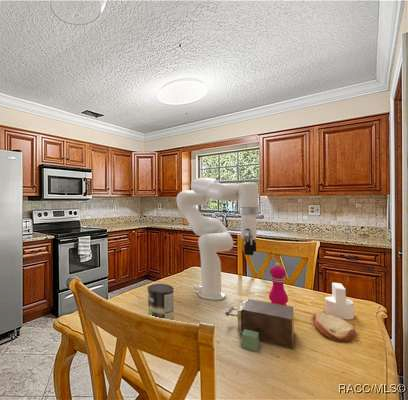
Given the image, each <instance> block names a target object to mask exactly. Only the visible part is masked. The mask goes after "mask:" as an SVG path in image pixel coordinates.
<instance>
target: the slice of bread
mask: <svg viewBox="0 0 408 400" xmlns="http://www.w3.org/2000/svg"><path fill="white" fill-rule="evenodd" d="M313 324H314V327H315V328H316V329H317V330H318V331H319V332H320V333H321V334H322V335H324V336H325V337H327V338H329V339H330V340H333V341H335V342H338V343H339V342H340V343H349V342H350V341H351V340H354V339H356V337H357V333H356V329H355V327H354V325H353V324H351V323H350V322H348V321H346V320H345V319H341V318H338V317H336V316H334V315H331V314H327V313H326V312H324V311H318V310H316V311H315V312H314V314H313Z"/></svg>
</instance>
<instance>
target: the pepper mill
mask: <svg viewBox="0 0 408 400" xmlns="http://www.w3.org/2000/svg"><path fill="white" fill-rule="evenodd" d="M274 265H275V266H271V267H270V269H269V274H270V275H271V277H270V278H271V281H272V287H271V289H270V292H269V294H268V299H269V300H270V303H275V304H281V305H286V306H288V305H287V303H288V302H289V297H288V294H287V291H286V289H285V287H284V286H285V285H284V282H285V277H286V275H287V272H286V270H285V268H284V267H282V266H281V264H280V263H279V262H276V263H275V264H274Z"/></svg>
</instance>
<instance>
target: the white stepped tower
mask: <svg viewBox="0 0 408 400" xmlns="http://www.w3.org/2000/svg"><path fill="white" fill-rule="evenodd" d="M346 290H347V289H346V287H345V286H344V285H343V284H342V283H340V282H331V294H332V295H330V296H324V306H325V307H324V311H325V312H324V313H327V314H331V315H334V316H336V317H338V318H341V319H343V320H353V319H354V318H355V309H354V301H353V300H351V299H348V298H347V296H346V294H347V293H346Z"/></svg>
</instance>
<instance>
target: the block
mask: <svg viewBox="0 0 408 400" xmlns="http://www.w3.org/2000/svg"><path fill="white" fill-rule="evenodd" d="M259 347H260V341H259V332H255V331H251V330H246V329H244V331H242V333H241V348H243V349H246V350H250V351H254V352H258V350H259Z"/></svg>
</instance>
